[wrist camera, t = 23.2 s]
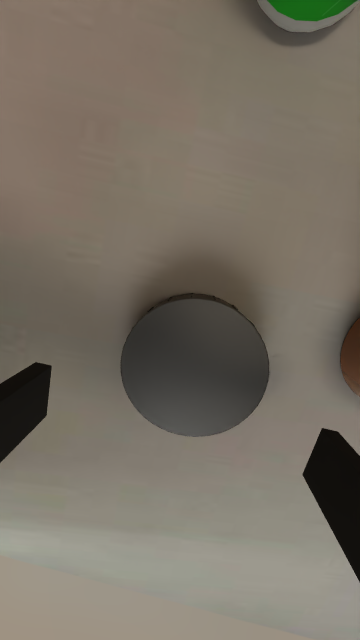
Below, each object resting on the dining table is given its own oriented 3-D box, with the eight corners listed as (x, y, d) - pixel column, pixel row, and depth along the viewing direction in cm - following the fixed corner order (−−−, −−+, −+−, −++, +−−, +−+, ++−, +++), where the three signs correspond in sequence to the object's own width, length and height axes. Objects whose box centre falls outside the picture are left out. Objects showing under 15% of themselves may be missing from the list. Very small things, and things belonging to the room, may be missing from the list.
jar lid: (106, 358, 21) (91, 372, 18) (191, 264, 18) (190, 263, 15) (195, 435, 22) (195, 461, 19) (286, 356, 19) (302, 371, 16)
